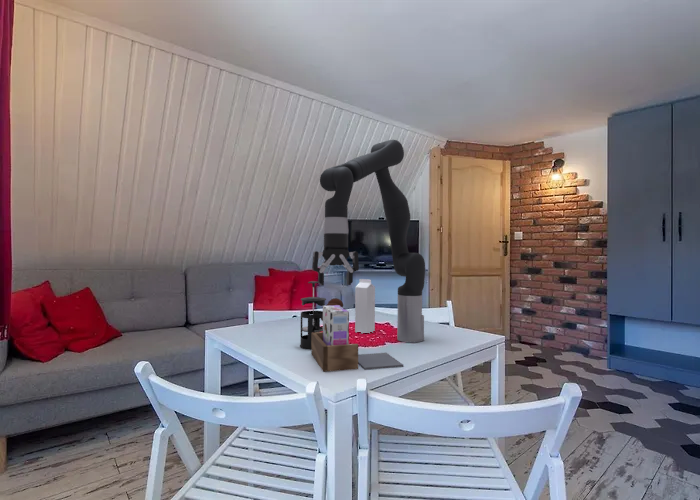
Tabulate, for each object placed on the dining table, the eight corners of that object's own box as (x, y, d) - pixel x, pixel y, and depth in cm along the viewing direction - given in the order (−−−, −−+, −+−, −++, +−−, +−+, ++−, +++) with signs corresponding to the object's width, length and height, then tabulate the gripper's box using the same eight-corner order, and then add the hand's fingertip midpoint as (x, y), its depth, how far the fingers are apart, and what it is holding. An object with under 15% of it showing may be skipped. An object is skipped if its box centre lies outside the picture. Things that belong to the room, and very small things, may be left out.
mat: (386, 354, 130) (386, 352, 130) (403, 366, 116) (403, 364, 116) (351, 356, 126) (351, 355, 126) (364, 369, 113) (364, 367, 113)
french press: (322, 350, 134) (323, 283, 134) (296, 349, 135) (296, 282, 135) (329, 342, 146) (330, 280, 145) (305, 341, 147) (305, 279, 147)
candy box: (349, 367, 116) (349, 310, 116) (329, 368, 115) (329, 311, 114) (339, 354, 129) (340, 304, 129) (322, 355, 128) (322, 304, 128)
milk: (363, 330, 169) (363, 278, 169) (375, 331, 165) (375, 279, 165) (354, 332, 164) (355, 279, 164) (366, 334, 160) (367, 279, 160)
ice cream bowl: (321, 333, 162) (321, 296, 162) (348, 334, 160) (348, 297, 160) (315, 339, 151) (316, 299, 151) (344, 340, 150) (344, 300, 150)
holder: (341, 351, 133) (341, 331, 132) (358, 368, 114) (358, 344, 114) (311, 353, 130) (311, 332, 130) (323, 371, 111) (323, 346, 111)
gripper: (354, 233, 127) (354, 283, 127) (311, 232, 124) (310, 284, 124) (361, 232, 120) (361, 285, 120) (315, 231, 116) (315, 286, 116)
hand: (335, 285), depth 122 cm, fingers open, 8 cm apart
